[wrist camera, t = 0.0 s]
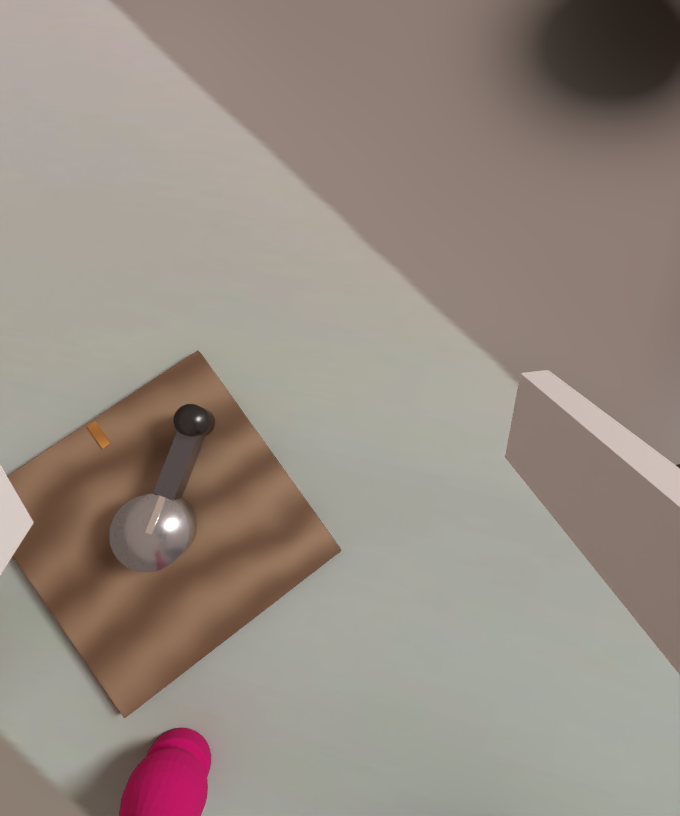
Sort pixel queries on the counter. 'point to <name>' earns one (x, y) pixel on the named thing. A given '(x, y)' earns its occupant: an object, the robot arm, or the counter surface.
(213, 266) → the counter surface
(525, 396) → the robot arm
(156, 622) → the wooden cutting board
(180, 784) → the pepper mill
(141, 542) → the dark grey dumbbell shape
